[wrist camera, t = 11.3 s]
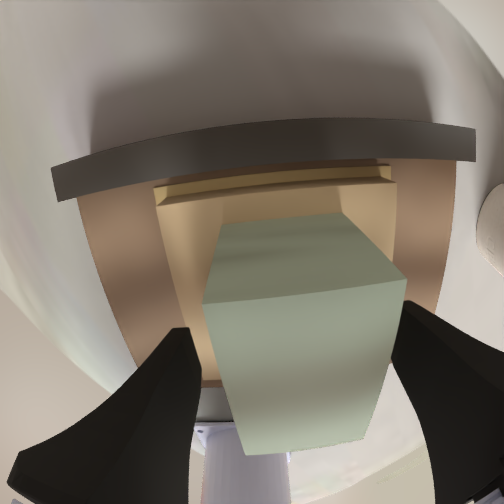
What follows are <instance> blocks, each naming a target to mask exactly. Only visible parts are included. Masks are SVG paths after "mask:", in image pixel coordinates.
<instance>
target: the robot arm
mask: <svg viewBox="0 0 504 504" xmlns="http://www.w3.org/2000/svg"><path fill="white" fill-rule="evenodd" d="M391 360H392V363H393V366H394V368H395V371H396V373H397V375H398V377H399V379H400V381H401V383H402V385H403V387H404V389H405V391H406V393H407V395H408V397H409V399H410V401H411V403H412V405H413V407H414V409H415V411H416V414H417V416H418V419H419V421H420V424H421V427H422V431H423V434H424V437H425V441H426V445H427V449H428V453H429V457H430V462H431V468H432V473H433V480H434V489H435V504H467V503H469V502H471V501H473V500H474V504H504V352H502V351H500V350H497V349H495V348H493V347H491V346H489V345H486V344H484V343H482V342H480V341H478V340H477V339H475V338H473V337H471V336H469V335H468V334H466V333H464V332H462V331H461V330H459V329H457V328H456V327H454V326H452V325H451V324H449V323H447V322H446V321H444V320H443V319H441V318H439V317H438V316H436V315H435V314H433V313H431V312H430V311H428V310H427V309H425V308H423V307H422V306H420V305H418V304H416V303H415V302H413V301H411V300H405V301H403V306H402V312H401V316H400V321H399V326H398V330H397V334H396V339H395V343H394V347H393V351H392V354H391ZM201 377H202V367H201V364H200V361H199V357H198V354H197V351H196V348H195V345H194V341H193V338H192V335H191V331H190V328H189V327H180V328H172V329H171V330H170V331H169V332H168V334H167V335H166V336H165V337H164V338H163V340H162V341H161V342H160V343H159V344H158V346H157V347H156V348H155V349H154V350H153V352H152V353H151V354H150V355H149V356H148V358H147V359H146V360H145V361H144V362H143V363H142V364H141V366H140V367H139V368H138V369H137V370H136V371H135V372H134V373H133V374H132V375H131V376H130V377H129V379H128V380H127V381H126V382H125V383H124V384H123V385H122V386H121V387H120V388H119V389H118V390H117V391H116V392H115V393H114V394H112V395H111V396H110V397H109V398H108V399H107V400H106V401H105V402H103V403H102V404H101V405H100V406H99V407H97V408H96V409H95V410H93V411H92V412H91V413H89V414H88V415H87V416H85V417H84V418H82V419H81V420H80V421H78V422H77V423H75V424H74V425H73V426H71V427H69V428H68V429H66V430H64V431H63V432H61V433H59V434H57V435H55V436H54V437H52V438H50V439H48V440H46V441H44V442H42V443H39V444H37V445H35V446H32V447H30V448H28V449H25V450H23V451H20V452H19V453H18V456H17V458H16V460H15V462H14V465H13V467H12V470H11V472H10V475H9V477H8V480H7V484H8V485H9V486H10V487H11V488H12V489H13V490H15V491H16V492H18V493H19V494H21V495H22V496H24V497H25V498H27V499H28V500H30V501H31V502H33V503H35V504H188V482H189V481H188V480H189V479H188V477H189V458H190V448H191V442H192V436H193V431H194V430H195V432H196V434H197V436H198V438H199V439H200V441H201V443H202V445H203V447H204V448H205V461H204V471H203V483H202V494H201V504H291V494H290V484H289V473H288V463H289V462H290V452H285V453H275V454H263V455H245V453H244V450H243V447H242V444H241V441H240V438H239V435H238V432H237V429H236V426H235V422H198V423H195V420H196V415H197V410H198V404H199V399H200V393H201ZM11 504H23V503H21V502H19V501H18V500H16V499H13V500H12V503H11Z"/></svg>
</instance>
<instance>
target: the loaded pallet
mask: <svg viewBox="0 0 504 504" xmlns="http://www.w3.org/2000/svg"><path fill="white" fill-rule="evenodd" d="M396 205H397V183H396V182H393V181H391V180H389V179H386V178H384V177H382V176H372V177H350V178H333V179H318V180H304V181H292V182H281V183H271V184H261V185H252V186H243V187H235V188H227V189H219V190H211V191H204V192H197V193H190V194H183V195H177V196H171V197H166V198H165V199H164V200H163V201H161V202H160V203H159V204H158V205H157V206H156V211H157V216H158V221H159V225H160V230H161V234H162V238H163V243H164V247H165V251H166V255H167V259H168V263H169V267H170V271H171V275H172V279H173V283H174V286H175V290H176V294H177V297H178V301H179V305H180V308H181V311H182V315H183V318H184V322H185V325H186V327H189V328H190V331H191V335H192V338H193V341H194V345H195V348H196V351H197V354H198V357H199V361H200V364H201V367H202V377H203V380H222V383H223V386H224V390H225V393H226V397H227V400H228V403H229V406H230V410H231V413H232V416H233V419H234V422H235V426H236V429H237V432H238V435H239V438H240V441H241V444H242V447H243V450H244V453H245V455H263V454H275V453H285V452H294V451H302V450H309V449H315V448H321V447H327V446H333V445H338V444H343V443H347V442H352V441H356V440H361V439H363V438H364V436H365V433H366V431H367V428H368V426H369V423H370V420H371V418H372V415H373V412H374V409H375V407H376V404H377V401H378V398H379V395H380V392H381V389H382V386H383V382H384V379H385V376H386V372H387V369H388V365H389V362H390V358H391V354H392V351H393V347H394V343H395V339H396V334H397V330H398V326H399V321H400V316H401V312H402V306H403V301H404V296H405V290H406V284H407V278H406V277H405V276H404V275H403V274H402V272H401V271H400V270H399V269H398V268H397V267H396V266H395V265H394V264H393V263H392V261H393V251H394V239H395V225H396Z"/></svg>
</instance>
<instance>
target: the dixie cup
mask: <svg viewBox="0 0 504 504" xmlns="http://www.w3.org/2000/svg"><path fill="white" fill-rule="evenodd" d="M476 240H477V246H478V249H479V251H480V253H481V255H482V256H483V257H484V258H485V259H486V260H487V261H488V262H489V263H490V264H491V265H492V266H493V267H494V268H495V269H496V270H497V271H498V272H499V273H500V275H501V276H502V277H503V278H504V183H503V184H500V185H498V186H496V187H495V188H494V189H493V190H492V191H491V192H490V193H489V194H488V196H487V197H486V199H485V201H484V203H483V205H482V208H481V210H480V214H479V217H478V222H477V229H476Z"/></svg>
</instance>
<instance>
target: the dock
mask: <svg viewBox="0 0 504 504" xmlns="http://www.w3.org/2000/svg"><path fill="white" fill-rule="evenodd" d="M456 161H469V162H476V131H475V129H472V128H466V127H460V126H453V125H446V124H438V123H430V122H420V121H409V120H395V119H375V118H311V119H291V120H276V121H264V122H254V123H244V124H236V125H228V126H221V127H214V128H207V129H201V130H195V131H189V132H183V133H178V134H173V135H168V136H163V137H158V138H153V139H149V140H144V141H140V142H136V143H132V144H128V145H124V146H120V147H116V148H112V149H109V150H105V151H102V152H98V153H95V154H91V155H88V156H85V157H82V158H78V159H75V160H72V161H69V162H66V163H63V164H60V165H57V166H55V167H52V168H51V172H52V177H53V182H54V187H55V192H56V196H57V200H58V202H60V201H64V200H68V199H72V198H77V202H78V206H79V210H80V214H81V218H82V222H83V225H84V229H85V233H86V236H87V240H88V243H89V246H90V250H91V253H92V256H93V259H94V262H95V265H96V268H97V271H98V274H99V277H100V280H101V283H102V285H103V288H104V291H105V294H106V296H107V299H108V301H109V304H110V306H111V309H112V311H113V314H114V316H115V319H116V321H117V324H118V326H119V328H120V331H121V333H122V335H123V337H124V340H125V342H126V344H127V346H128V348H129V351H130V353H131V355H132V357H133V359H134V361H135V363H136V365H137V367H138V368H139V367H140V366H141V364H142V363H143V362H144V361H145V360H146V359H147V358H148V356H149V355H150V354H151V353H152V352H153V350H154V349H155V348H156V347H157V346H158V344H159V343H160V342H161V341H162V340H163V338H164V337H165V336H166V335H167V334H168V332H169V331H170V330H171V329H172V328H180V327H186V325H185V322H184V318H183V315H182V311H181V308H180V305H179V301H178V297H177V294H176V290H175V286H174V283H173V279H172V275H171V271H170V267H169V263H168V259H167V255H166V251H165V247H164V243H163V238H162V234H161V230H160V225H159V221H158V216H157V211H156V206H157V205H158V204H159V203H160V202H161V201H163V200H164V199H165V198H166V197H171V196H177V195H183V194H190V193H197V192H204V191H211V190H219V189H227V188H235V187H243V186H252V185H261V184H271V183H281V182H292V181H304V180H318V179H333V178H350V177H372V176H382V177H384V178H386V179H389V180H391V181H393V182H396V183H397V205H396V225H395V239H394V251H393V261H392V263H393V264H394V265H395V266H396V267H397V268H398V269H399V270H400V271H401V272H402V274H403V275H404V276H405V277H406V278H407V284H406V290H405V296H404V301H405V300H411V301H413V302H415V303H416V304H418V305H420V306H422V307H423V308H425V309H427V310H428V311H430V312H431V313H433V314H434V313H435V310H436V306H437V302H438V298H439V294H440V290H441V285H442V281H443V276H444V271H445V266H446V260H447V255H448V249H449V242H450V236H451V228H452V220H453V210H454V199H455V185H456ZM390 363H392V360H391V358H390V362H389V364H390ZM206 387H224V386H223V383H222V380H203V377H201V388H206Z"/></svg>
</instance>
